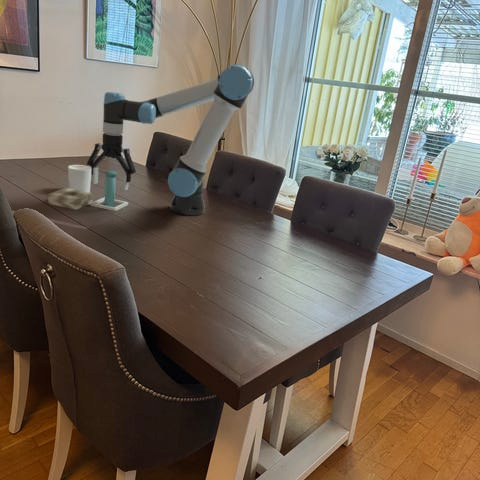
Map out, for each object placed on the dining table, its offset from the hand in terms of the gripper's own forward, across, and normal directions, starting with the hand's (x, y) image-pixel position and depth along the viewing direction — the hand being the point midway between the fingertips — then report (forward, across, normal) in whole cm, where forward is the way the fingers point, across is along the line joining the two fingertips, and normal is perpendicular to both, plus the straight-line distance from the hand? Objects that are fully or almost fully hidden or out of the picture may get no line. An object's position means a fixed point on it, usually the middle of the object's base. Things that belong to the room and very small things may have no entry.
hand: (110, 186), depth 182 cm
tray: (+9, 0, 0) cm, 9 cm away
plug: (+8, 0, 0) cm, 8 cm away
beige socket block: (+9, +13, +8) cm, 17 cm away
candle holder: (+9, +19, -8) cm, 23 cm away
